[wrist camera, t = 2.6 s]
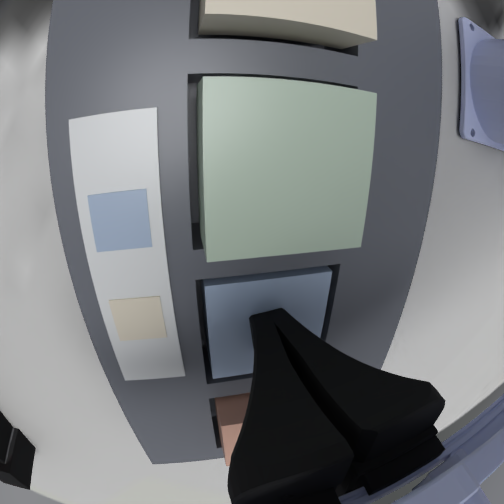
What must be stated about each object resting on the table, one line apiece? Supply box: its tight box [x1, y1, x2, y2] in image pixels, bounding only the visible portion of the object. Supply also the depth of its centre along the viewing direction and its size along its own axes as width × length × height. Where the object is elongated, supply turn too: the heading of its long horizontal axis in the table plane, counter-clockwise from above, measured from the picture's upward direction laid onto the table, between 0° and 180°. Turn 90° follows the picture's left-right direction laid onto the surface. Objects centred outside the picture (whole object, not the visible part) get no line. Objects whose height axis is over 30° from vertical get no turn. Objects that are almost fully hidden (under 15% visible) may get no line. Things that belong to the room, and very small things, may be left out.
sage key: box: [197, 76, 377, 262], centre depth 9 cm, size 5×5×2 cm
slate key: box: [200, 266, 332, 379], centre depth 13 cm, size 5×5×2 cm
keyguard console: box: [45, 0, 442, 464], centre depth 12 cm, size 14×28×3 cm, turn 179°
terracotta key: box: [214, 392, 250, 466], centre depth 14 cm, size 5×5×2 cm
